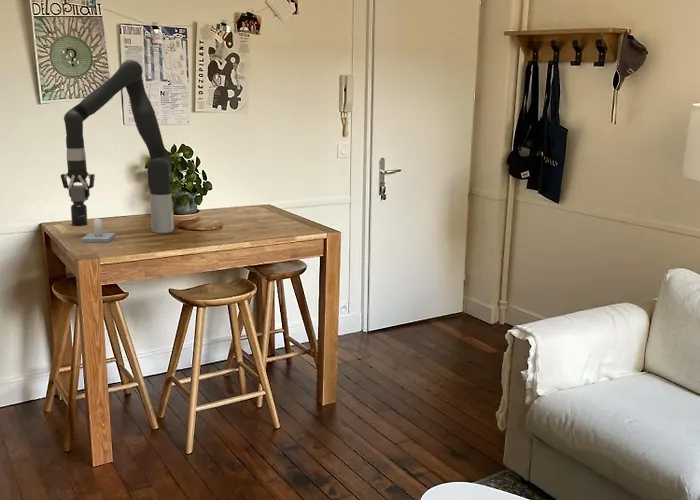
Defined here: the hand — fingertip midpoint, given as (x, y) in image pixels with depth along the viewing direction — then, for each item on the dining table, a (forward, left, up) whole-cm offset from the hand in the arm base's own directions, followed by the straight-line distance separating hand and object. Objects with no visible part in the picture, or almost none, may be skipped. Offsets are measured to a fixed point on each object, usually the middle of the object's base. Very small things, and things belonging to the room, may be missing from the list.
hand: (79, 197), depth 303 cm
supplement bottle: (+7, -20, -16) cm, 27 cm away
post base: (-9, +8, -16) cm, 21 cm away
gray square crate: (0, 0, -1) cm, 1 cm away
